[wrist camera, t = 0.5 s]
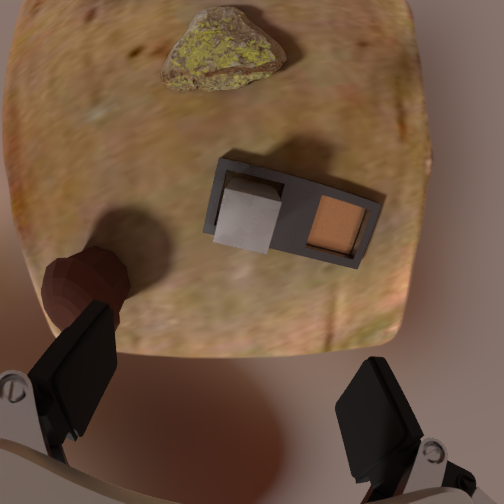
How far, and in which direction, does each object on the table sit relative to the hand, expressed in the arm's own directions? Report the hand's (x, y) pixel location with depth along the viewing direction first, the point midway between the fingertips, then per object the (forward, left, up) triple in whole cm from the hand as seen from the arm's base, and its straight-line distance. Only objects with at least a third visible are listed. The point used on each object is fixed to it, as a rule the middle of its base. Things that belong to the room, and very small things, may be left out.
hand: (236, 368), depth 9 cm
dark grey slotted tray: (-1, +5, -22) cm, 23 cm away
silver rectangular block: (-1, 0, -22) cm, 22 cm away
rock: (-17, -7, -23) cm, 29 cm away
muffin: (+13, -17, -22) cm, 31 cm away
